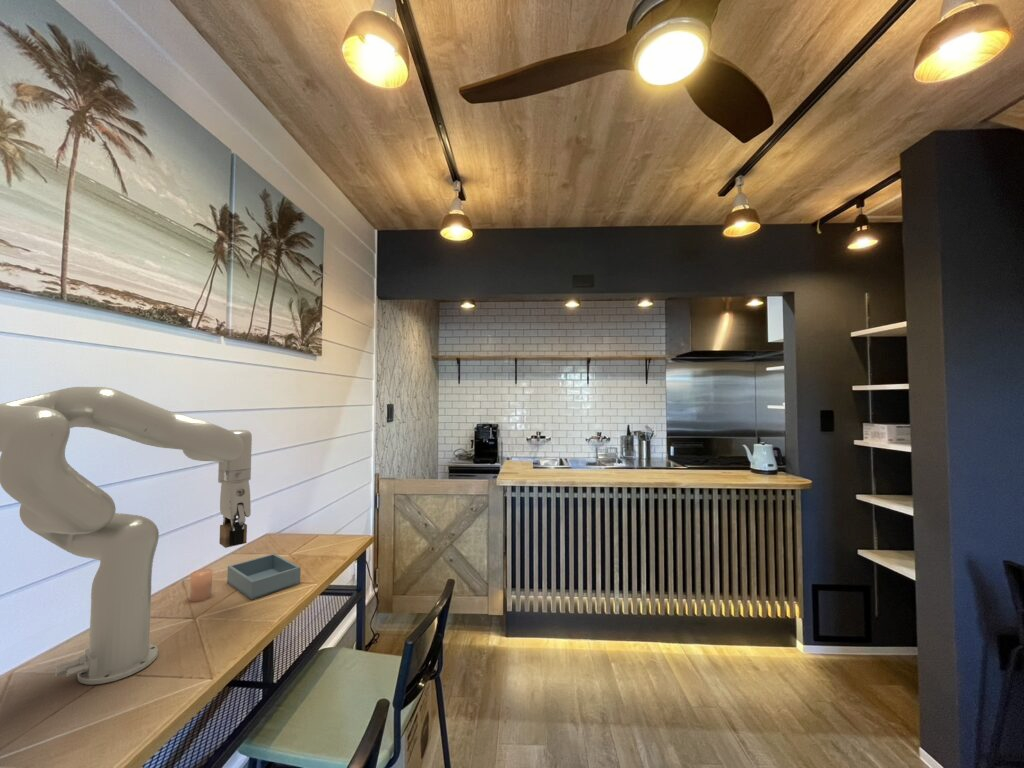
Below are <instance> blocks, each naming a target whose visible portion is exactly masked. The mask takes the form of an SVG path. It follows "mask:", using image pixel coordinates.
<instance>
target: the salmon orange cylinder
mask: <svg viewBox="0 0 1024 768" xmlns="http://www.w3.org/2000/svg"><path fill="white" fill-rule="evenodd" d="M189 581H190V584H189V586H190V587H189V601H190V602H193V603H194V602H195V603H196V602H197V603H198V602H203V601H206V600H208V599H209V598H211V597H212V595H213V593H212V591H213V569H211V568H202V569H198V570H195V571H193V572H191V573H190V580H189Z"/></svg>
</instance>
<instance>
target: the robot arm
mask: <svg viewBox="0 0 1024 768" xmlns="http://www.w3.org/2000/svg"><path fill="white" fill-rule="evenodd" d="M73 428H90V429H95V430H98V431H101V432H104V433H108V434H111V435H114V436H118V437H121V438H123V439H124V438H125V439H128V440H130V441H132V442H136V443H140V444H141V445H146V446H149V447H150V446H151V447H155V448H163V449H169V450H171V449H172V450H180V451H182V453H183V454H184V456H185V457H187V458H188V459H190V460H193V461H198V462H216V463H218V471H217V472H218V478H217V482H218V483H219V484H221V485H220V493H219V494H220V498H219V511H220V514H221V515H222V518H223V519H222V525H223V524H228V523H231V530H232V531H230V541H229V545H230V546H232V547H235V546H234V545H236V546H239V545H238V544H241V545H243V544H242V543H243V542H244V523H245V522H246V518H249V517H250V516H251V512H252V511H251V506H252V504H251V487H250V481H251V480H252V477H251V476H252V473H251V472H252V448H253V447H252V445H253V443H252V441H253V436H252V435H253V434H252V433H251V431H250V430H246V429H230V430H229V429H227V428H225V427H222V426H219V425H216V424H214V423H210V422H207V421H204V420H201V419H198V418H197V419H196V418H193V417H191V416H187V415H184V414H181V413H177V412H174V411H171V410H168V409H165V408H162V407H159V406H157V405H154V404H152V403H150V402H147V401H144V400H142V399H140V398H138V397H135V396H133V395H131V394H127V393H125V392H122V391H121V390H118V389H115V388H110V387H105V386H104V387H103V386H73V387H72V386H71V387H67V388H62V389H61V388H60V389H58V390H52V391H51V392H49V391H48V392H46V393H42V394H41V393H40V394H38V395H33V396H28V397H25V398H21V399H16V400H13V401H8V402H4V403H0V453H1V454H0V486H1V488H2V489H3V490H4V492H5V493H6V494H7V495H8V496H10V497H11V498H12V499H13V500H15V501H17V502H18V503H19V504H20V507H19V518H20V520H21V522H22V523H23V525H24V526H25V527H26V528H27V529H28V530H30V531H32V533H35V534H37V535H38V536H40V537H41V538H42V539H44V540H46V541H48V542H50V543H51V544H54V546H57V547H58V548H61V549H62V550H64V551H66V552H68V553H70V554H72V555H75V556H77V557H80V558H87V559H92V560H96V561H99V567H98V569H97V571H96V573H95V575H94V577H93V579H92V583H91V584H92V585H91V590H90V591H91V592H90V619H89V621H90V622H89V641H88V642H89V644H88V647H89V648H87V649H84V654H83V655H81V656H78V657H77V659H75V660H71V661H67V662H64V663H61V664H58V665H55V670H54V671H55V673H54V675H55V677H58V676H62V675H64V674H66V675H65V677H66V678H68V677H71V676H75V675H77V681H78V682H79V683H81V684H85V685H92V686H93V685H102V684H107V683H111V682H116V681H118V680H121V679H124V678H127V677H129V676H132V675H134V674H136V673H138V672H140V671H142V670H143V669H145V668H147V667H149V666H150V665H151V664H152V663H153V662H155V660H156V659H157V657H158V655H159V648H158V646H157V645H156V644H153V643H150V641H151V640H150V639H151V638H150V635H151V608H152V607H151V606H152V578H153V577H152V576H153V566H154V565H153V563H154V558H155V554H156V550H157V547H158V543H159V537H160V535H159V534H160V532H159V529H158V526H157V525H156V523H155V522H154V521H153V520H151V519H150V518H147V517H146V516H142V515H138V514H129V513H118V512H116V511H117V510H116V508H117V507H116V503H115V501H114V499H113V498H112V497H111V496H110V494H109V493H107V492H106V491H105V490H103V489H101V488H100V487H98V486H97V485H96V484H94V483H93V482H91V481H90V480H89V479H88V478H86V477H85V476H83V475H82V474H80V473H79V472H78V471H77V470H76V469H75V468H74V467H72V466H71V465H70V463H68V461H67V459H66V449H67V448H66V447H67V445H68V444H67V443H68V441H69V438H70V432H71V429H73ZM235 522H236V523H235ZM245 524H246V523H245Z"/></svg>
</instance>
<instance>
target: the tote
mask: <svg viewBox="0 0 1024 768" xmlns="http://www.w3.org/2000/svg"><path fill="white" fill-rule="evenodd" d="M301 569H302V568H301V566H299V565H297V564H295V563H294V562H291V561H290V560H287V559H286V558H284V557H282V556H280V555H278V554H276V553H271V554H267V555H264V556H261V557H260V556H259V557H256V558H254V559H250V560H247V561H242V562H238V563H235V564H231V565H228V566H227V579H226V580H227V584H228V585H229V586H231V587H232V588H234V590H237V591H238V593H241V594H242V595H244V596H245V597H246V598H247V599H249V600H250V599H251V600H250V601H253V599H254V600H257V599H259V598H262V597H265V596H268V595H271V594H275V593H277V592H279V591H282V590H283V591H284V590H285V589H289V588H292V587H295V586H298V585H300V584H301Z"/></svg>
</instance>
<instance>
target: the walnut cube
mask: <svg viewBox="0 0 1024 768" xmlns="http://www.w3.org/2000/svg"><path fill="white" fill-rule="evenodd" d="M236 522H237V521H236ZM236 522H235V523H236ZM230 531H232V530H231V523H228V524H223V523H222V524H220V525H219V545H220V546H222V547H223V548H225V549H227V548H231V547H232V548H233V547H235V546H239V545H245V544H247V541H248V540H247V539H248V537H247V535H248V524H246V523H244V542H243V543H242V544H238V545H234V546H230V545H229V541H230Z"/></svg>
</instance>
